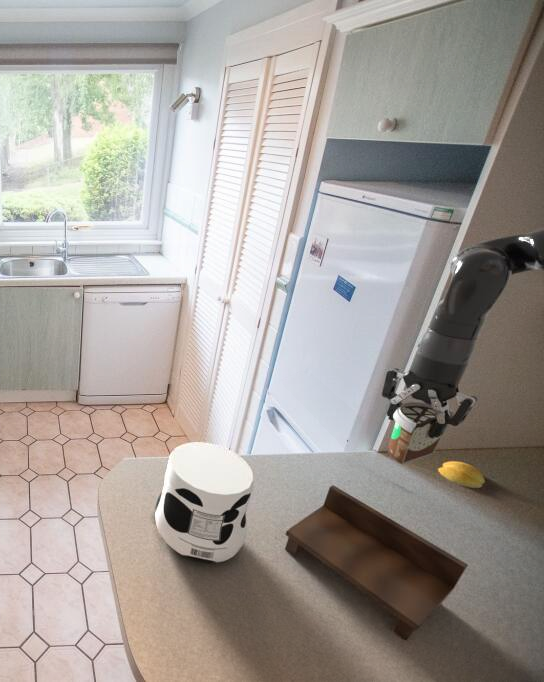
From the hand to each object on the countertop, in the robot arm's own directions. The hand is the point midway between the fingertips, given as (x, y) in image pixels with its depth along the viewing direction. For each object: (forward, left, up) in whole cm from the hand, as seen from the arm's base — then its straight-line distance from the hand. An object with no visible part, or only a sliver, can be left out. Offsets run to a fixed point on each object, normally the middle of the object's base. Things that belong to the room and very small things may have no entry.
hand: (411, 427), depth 91 cm
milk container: (+15, +41, -22) cm, 49 cm away
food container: (0, 0, -6) cm, 6 cm away
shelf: (-6, +22, -22) cm, 31 cm away
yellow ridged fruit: (-6, -26, -22) cm, 35 cm away
